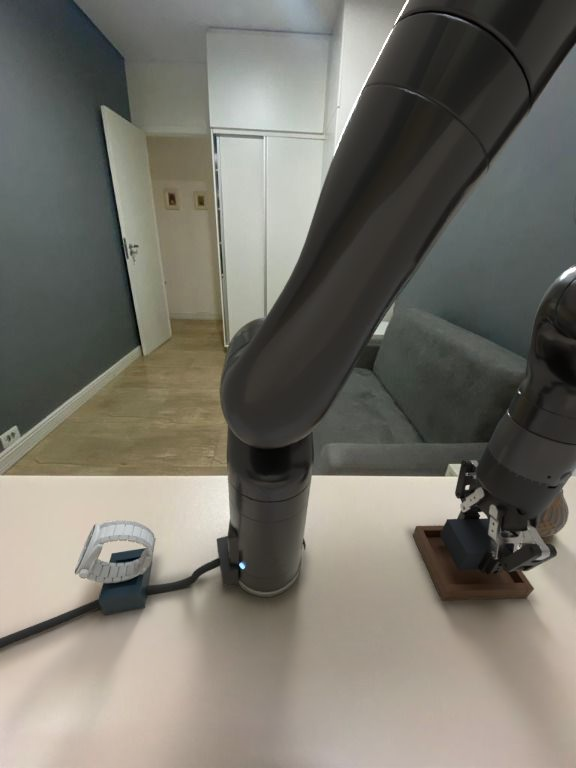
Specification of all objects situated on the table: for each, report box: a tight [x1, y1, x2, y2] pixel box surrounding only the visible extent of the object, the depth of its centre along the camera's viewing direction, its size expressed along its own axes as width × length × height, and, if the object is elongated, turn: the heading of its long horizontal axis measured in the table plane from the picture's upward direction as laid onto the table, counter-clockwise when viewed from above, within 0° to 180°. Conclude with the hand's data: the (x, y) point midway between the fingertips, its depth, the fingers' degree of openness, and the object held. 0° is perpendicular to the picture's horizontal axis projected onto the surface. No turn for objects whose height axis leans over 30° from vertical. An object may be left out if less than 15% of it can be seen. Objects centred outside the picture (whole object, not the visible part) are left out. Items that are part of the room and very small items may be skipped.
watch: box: [74, 519, 157, 616], centre depth 36 cm, size 6×8×11 cm
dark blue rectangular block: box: [440, 517, 519, 570], centre depth 41 cm, size 7×5×4 cm
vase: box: [536, 488, 570, 538], centre depth 48 cm, size 7×7×9 cm
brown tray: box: [412, 525, 535, 601], centre depth 43 cm, size 12×9×2 cm
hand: (474, 549), depth 42 cm, fingers closed on dark blue rectangular block, 5 cm apart
